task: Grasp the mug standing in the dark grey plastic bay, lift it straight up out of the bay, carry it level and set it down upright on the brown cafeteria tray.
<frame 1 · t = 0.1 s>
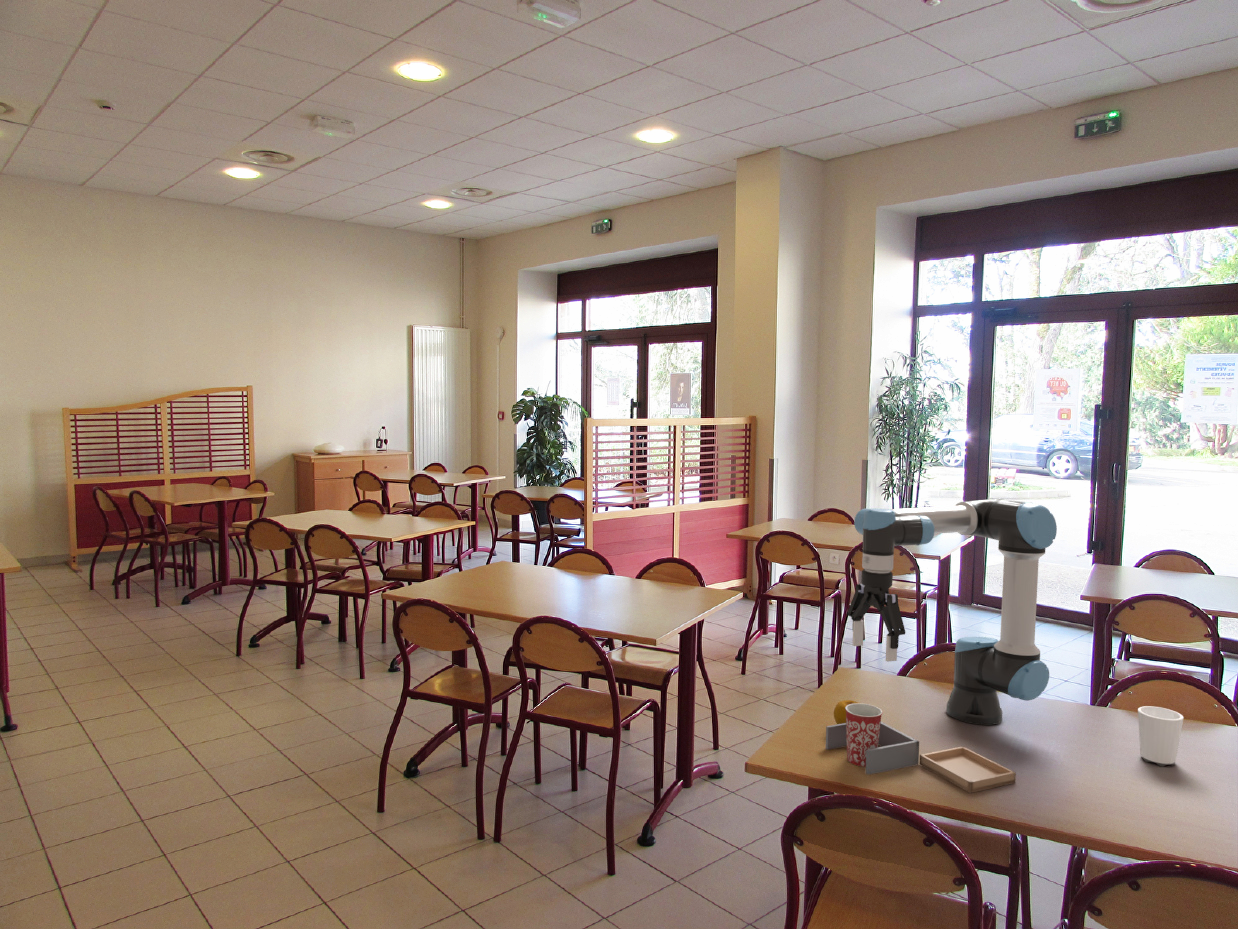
hand: (873, 653, 206), 28 cm above the table, fingers open, 13 cm apart
apple: (849, 733, 226), on the table
cup: (1157, 761, 210), on the table
tray: (966, 773, 201), on the table
bay: (861, 758, 209), on the table
mug: (861, 759, 209), on the table
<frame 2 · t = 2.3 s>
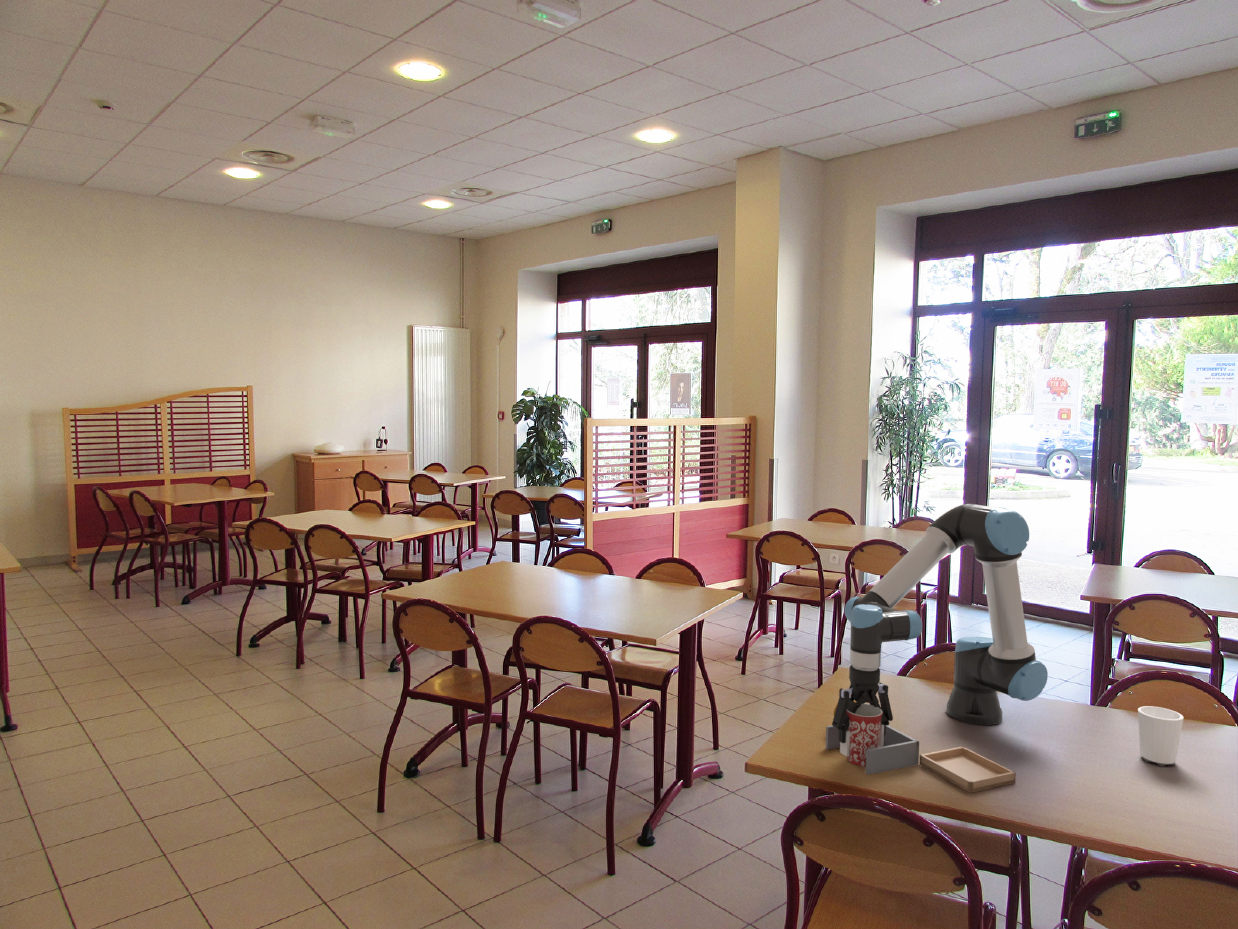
hand: (861, 751, 209), 2 cm above the table, fingers open, 10 cm apart
mug: (861, 759, 209), on the table, touching gripper
everything else where it was.
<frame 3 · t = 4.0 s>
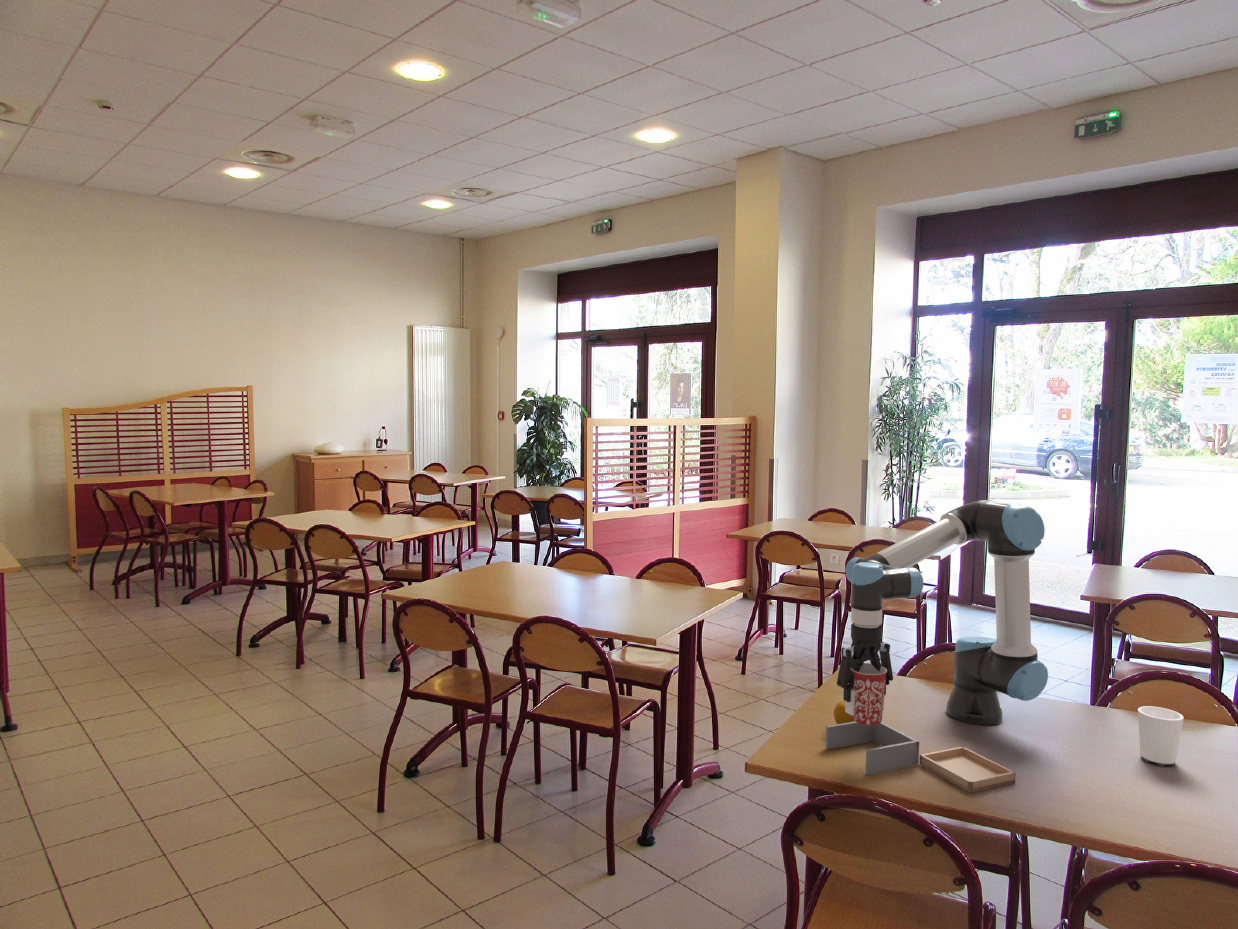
hand: (864, 710, 208), 12 cm above the table, fingers closed on mug, 9 cm apart
mug: (866, 718, 209), point 10 cm above the table, touching gripper
everything else where it was.
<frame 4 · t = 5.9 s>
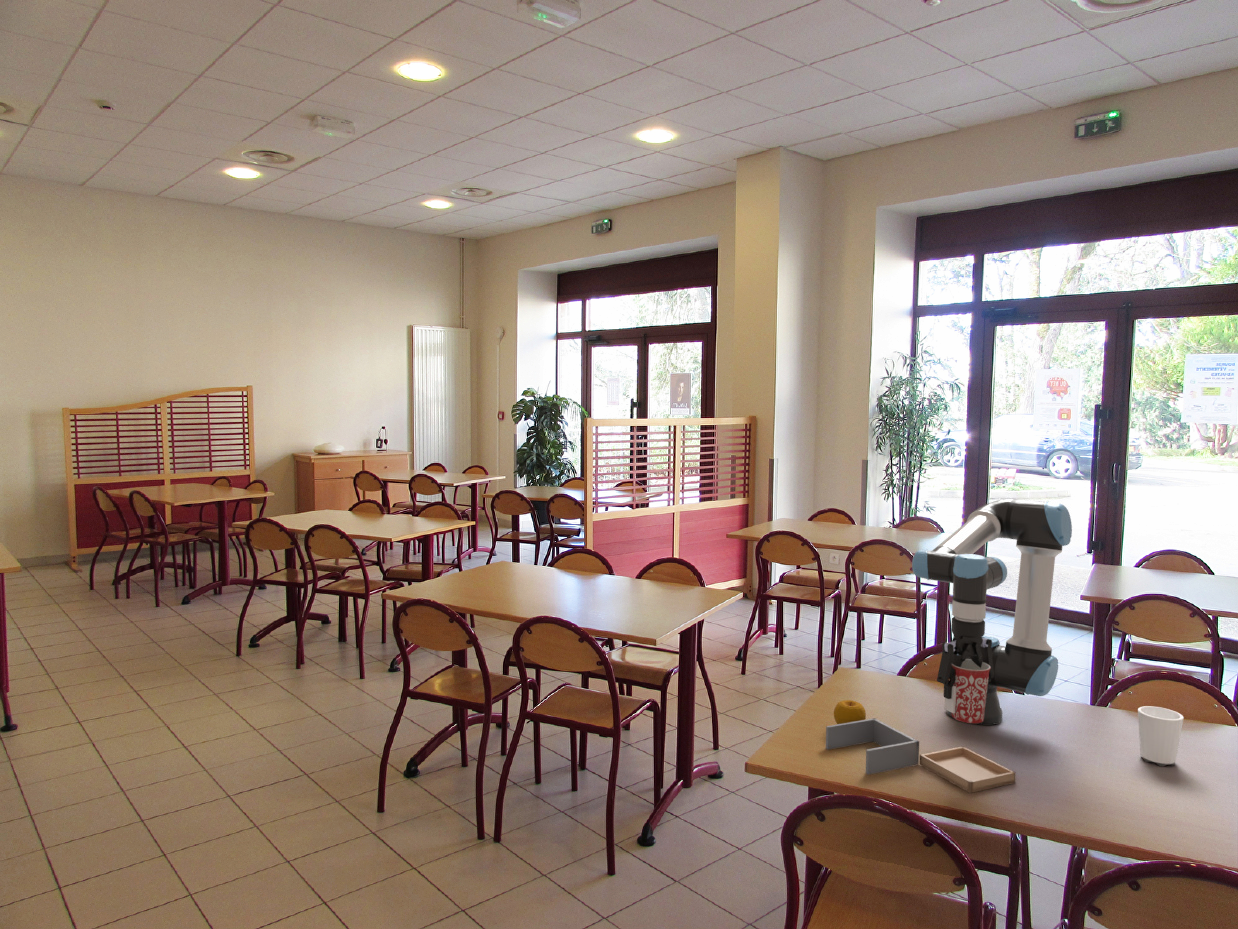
hand: (964, 708, 200), 16 cm above the table, fingers closed on mug, 9 cm apart
mug: (966, 716, 201), point 14 cm above the table, touching gripper
everything else where it was.
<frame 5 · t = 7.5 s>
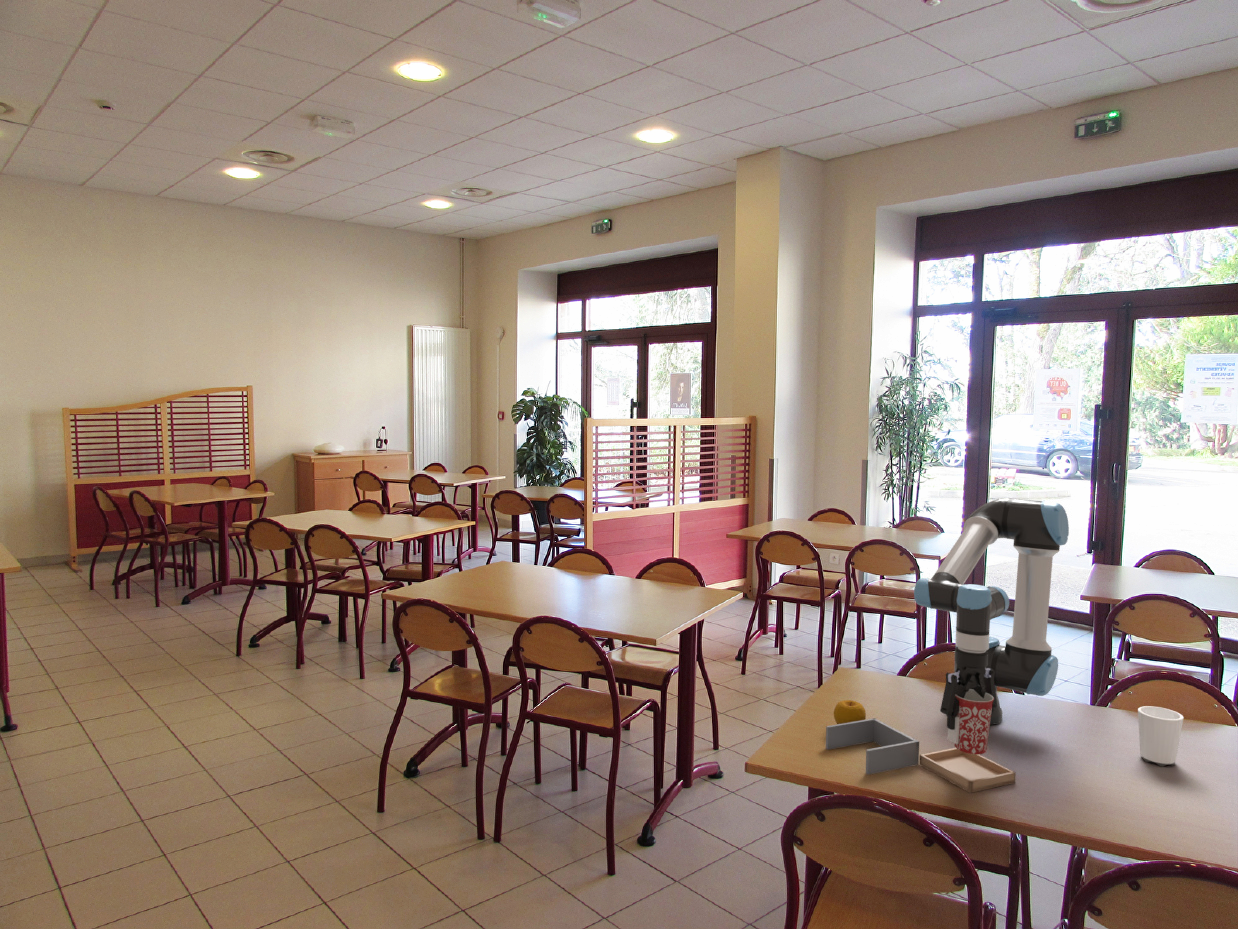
hand: (967, 739, 200), 9 cm above the table, fingers closed on mug, 9 cm apart
mug: (969, 746, 201), point 7 cm above the table, touching gripper
everything else where it was.
when the fingers open (4 cm above the table, at t = 8.9 s): mug drops 1 cm, resting on tray.
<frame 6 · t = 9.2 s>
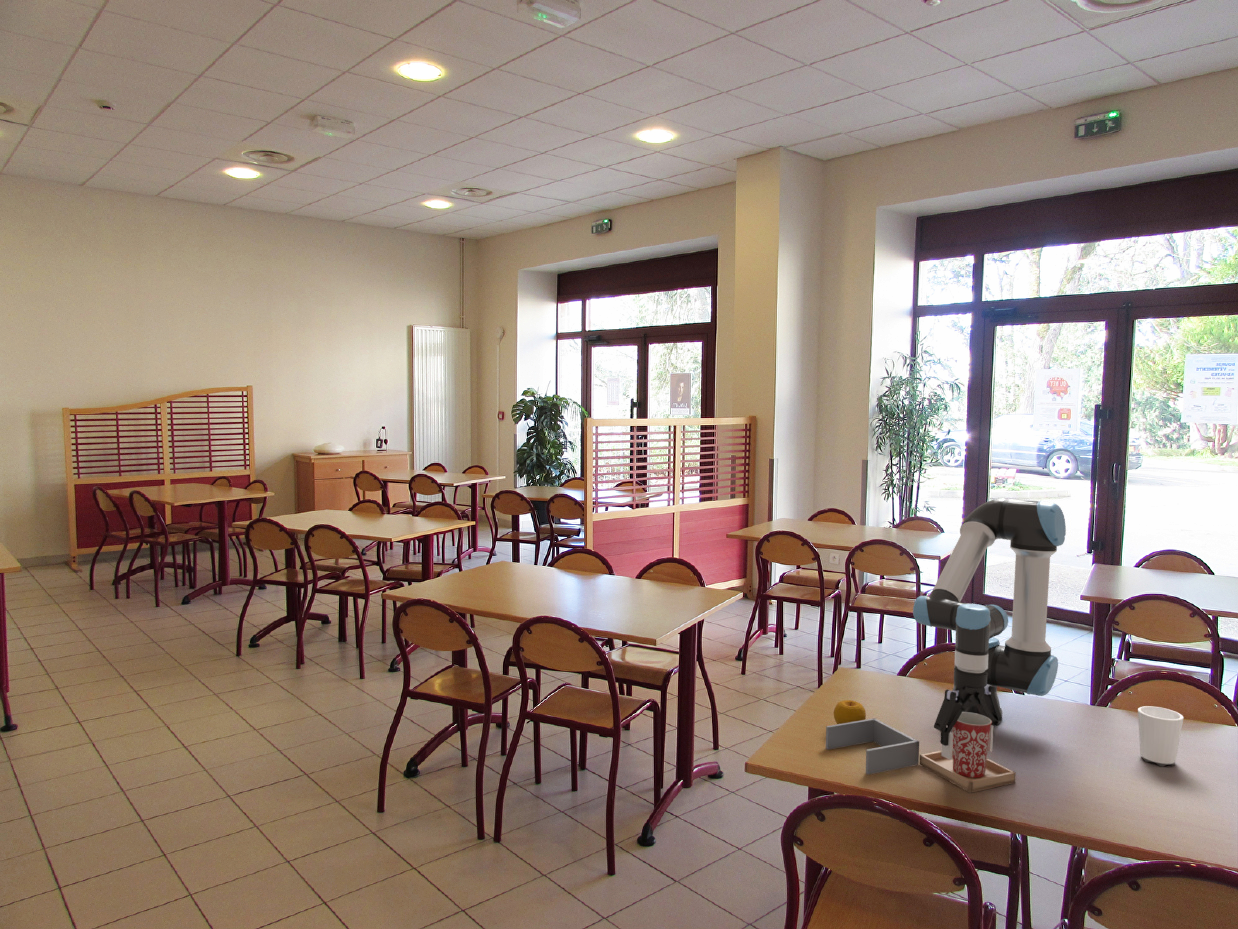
hand: (967, 753, 201), 5 cm above the table, fingers open, 12 cm apart
mug: (967, 770, 201), point 1 cm above the table, touching tray
everything else where it was.
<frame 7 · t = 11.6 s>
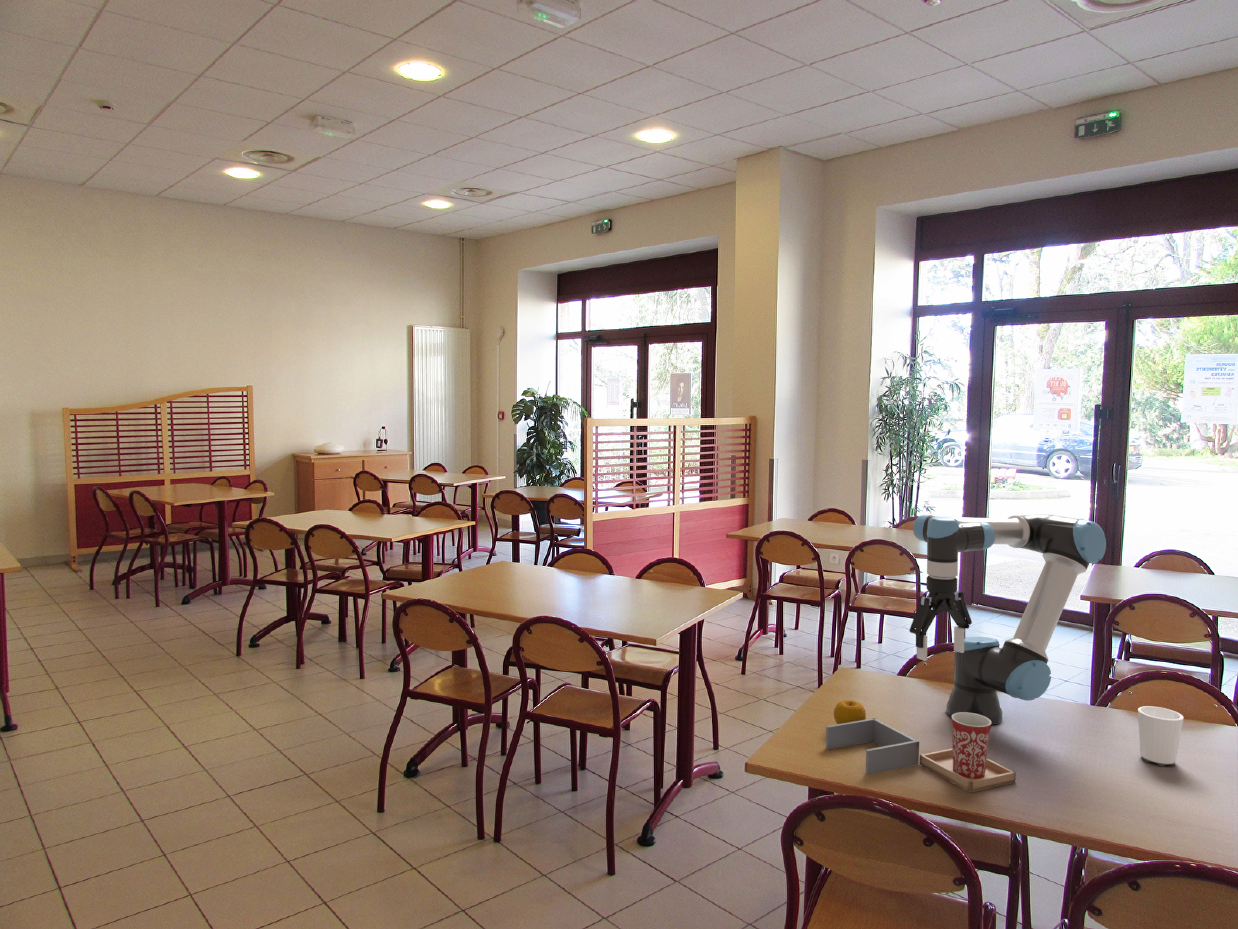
hand: (940, 655, 215), 25 cm above the table, fingers open, 13 cm apart
nothing on the table moved.
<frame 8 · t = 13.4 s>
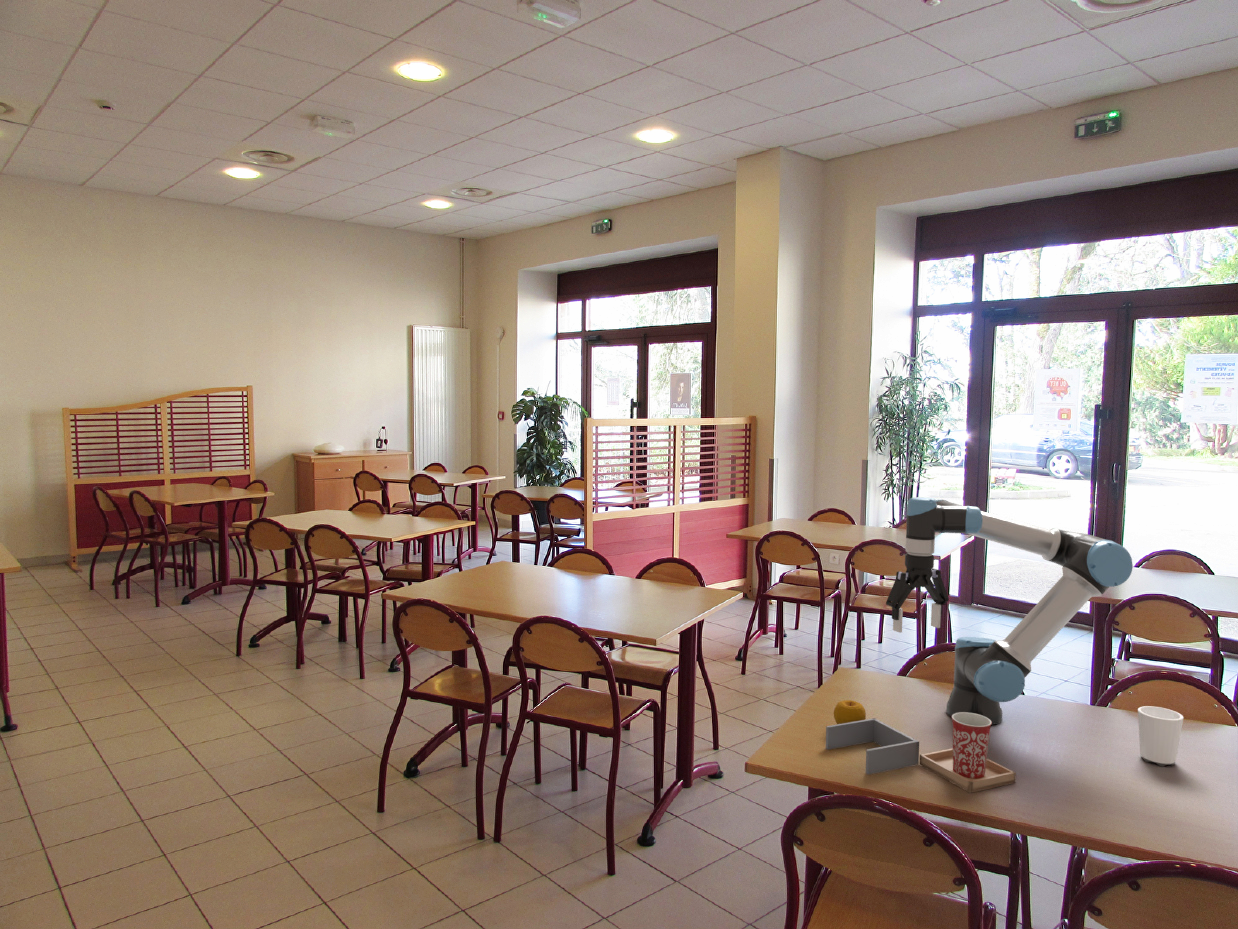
hand: (916, 629, 226), 29 cm above the table, fingers open, 13 cm apart
nothing on the table moved.
at the end: mug inside the target area on the tray (0.7 cm from its centre), point 0.6 cm above the tray's base; mug tilted 0°; the gripper is holding nothing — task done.
